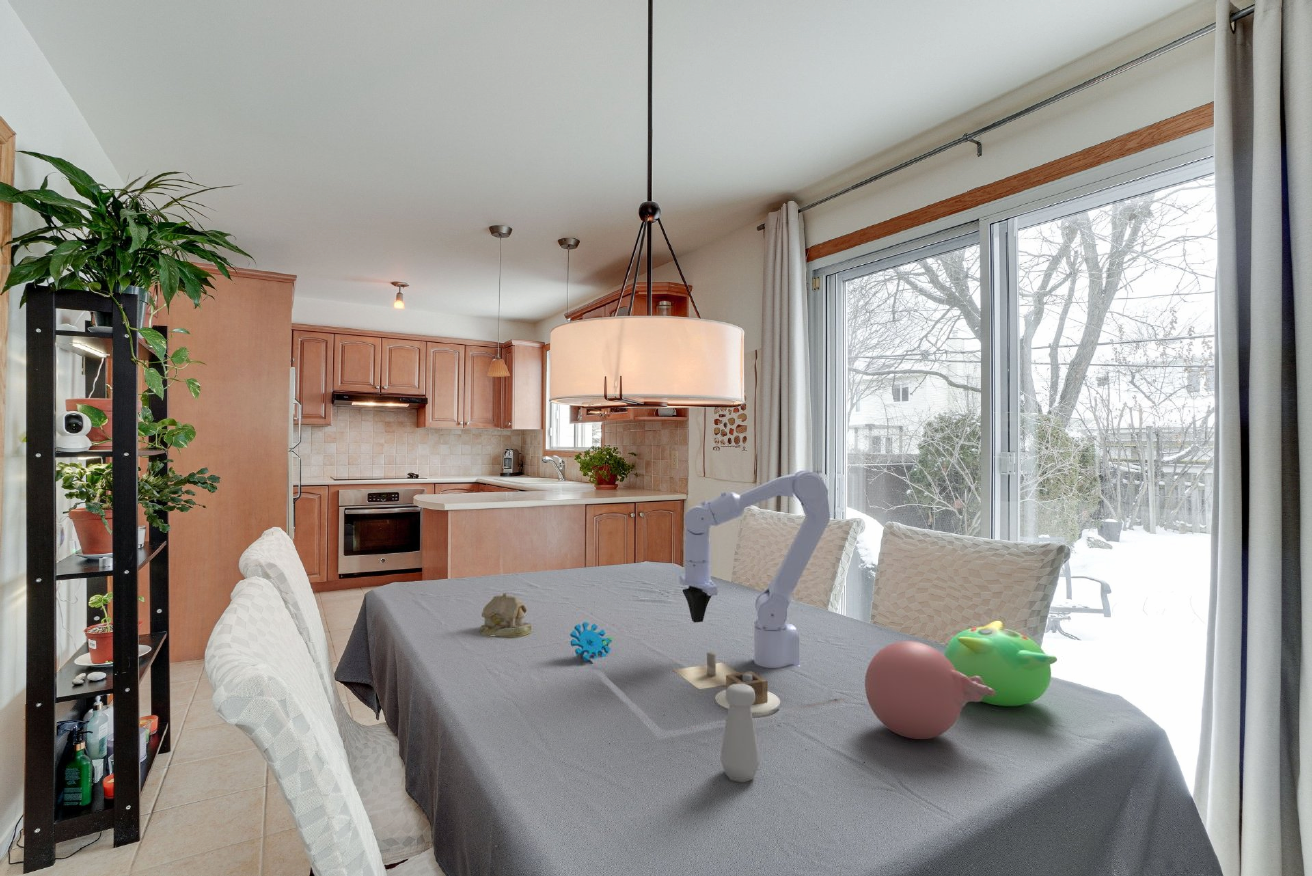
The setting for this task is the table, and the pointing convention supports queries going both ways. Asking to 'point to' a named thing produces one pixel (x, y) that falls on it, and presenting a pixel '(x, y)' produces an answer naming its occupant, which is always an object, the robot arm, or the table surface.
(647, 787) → the table surface
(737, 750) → the salt shaker
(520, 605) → the ceramic model
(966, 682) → the balloon
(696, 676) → the birch stand
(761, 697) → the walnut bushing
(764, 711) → the cream plate
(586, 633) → the gear
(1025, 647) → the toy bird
